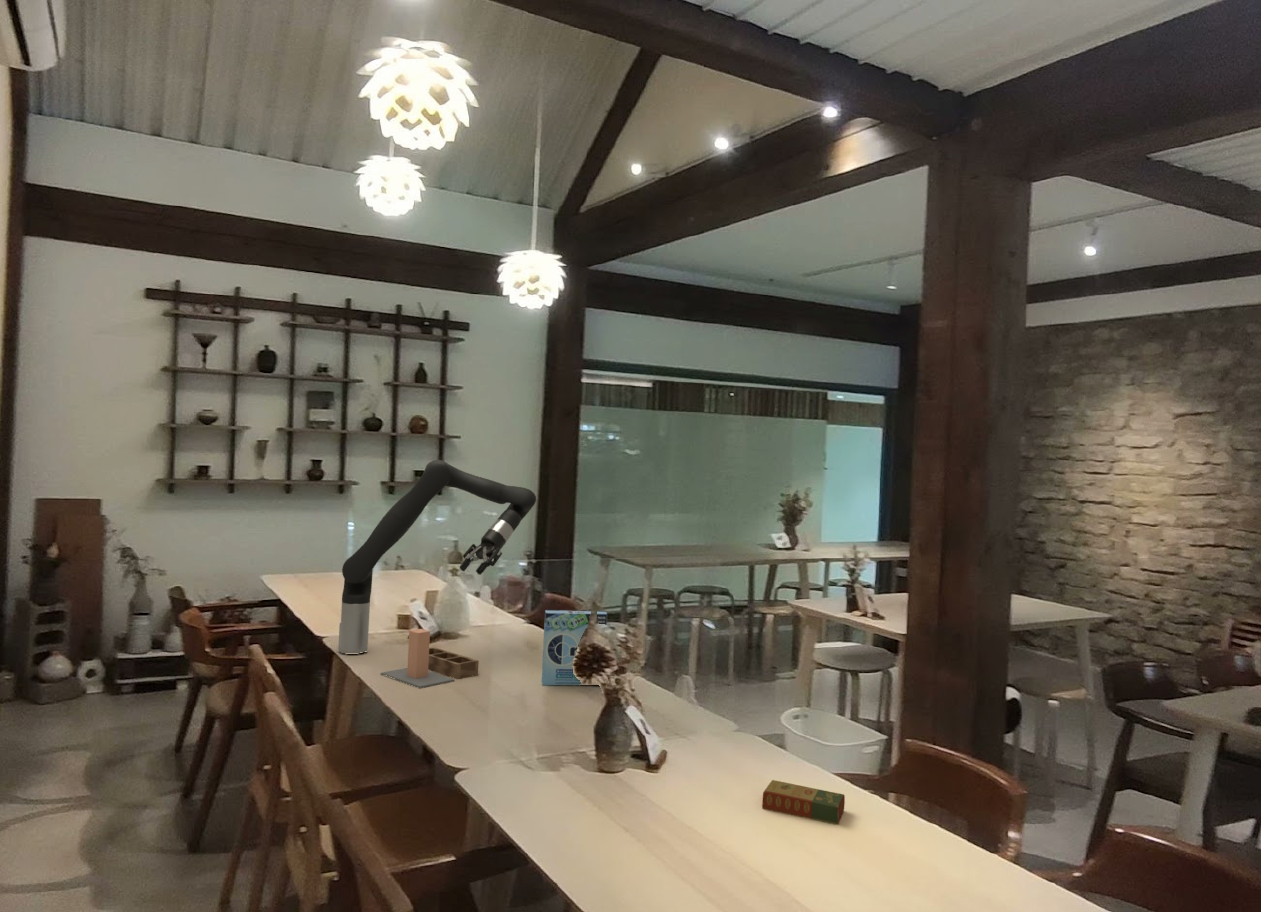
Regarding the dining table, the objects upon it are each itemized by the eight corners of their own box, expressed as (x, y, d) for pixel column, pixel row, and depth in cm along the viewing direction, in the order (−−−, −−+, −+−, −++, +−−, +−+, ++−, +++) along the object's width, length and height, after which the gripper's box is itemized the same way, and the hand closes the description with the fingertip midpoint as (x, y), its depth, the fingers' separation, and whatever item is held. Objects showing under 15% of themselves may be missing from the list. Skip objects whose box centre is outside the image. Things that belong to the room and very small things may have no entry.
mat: (380, 674, 282) (380, 672, 282) (415, 668, 292) (415, 666, 292) (419, 688, 269) (419, 686, 269) (454, 681, 279) (454, 679, 279)
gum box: (602, 682, 287) (606, 610, 287) (604, 687, 282) (608, 613, 281) (541, 681, 284) (544, 609, 284) (541, 686, 279) (545, 612, 279)
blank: (406, 675, 280) (409, 630, 280) (418, 673, 284) (421, 628, 284) (415, 678, 277) (418, 633, 277) (427, 676, 281) (430, 631, 281)
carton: (771, 797, 200) (772, 778, 200) (844, 812, 194) (845, 792, 194) (761, 810, 192) (762, 790, 192) (837, 826, 186) (839, 806, 186)
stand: (412, 664, 297) (413, 650, 297) (433, 660, 303) (434, 647, 303) (457, 678, 282) (457, 664, 282) (477, 674, 288) (478, 660, 288)
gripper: (478, 526, 313) (450, 561, 305) (505, 530, 304) (477, 566, 295) (489, 540, 317) (461, 575, 309) (516, 545, 308) (489, 581, 300)
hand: (469, 571), depth 302 cm, fingers open, 8 cm apart
